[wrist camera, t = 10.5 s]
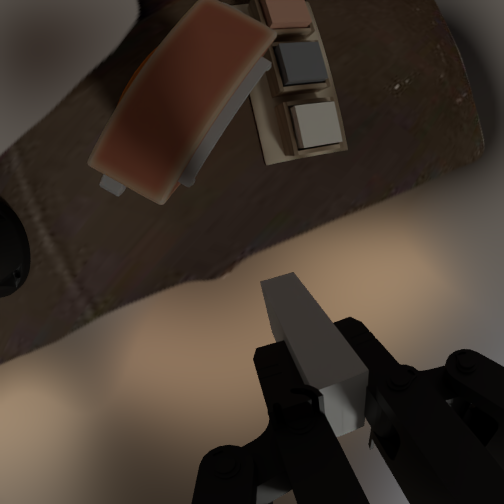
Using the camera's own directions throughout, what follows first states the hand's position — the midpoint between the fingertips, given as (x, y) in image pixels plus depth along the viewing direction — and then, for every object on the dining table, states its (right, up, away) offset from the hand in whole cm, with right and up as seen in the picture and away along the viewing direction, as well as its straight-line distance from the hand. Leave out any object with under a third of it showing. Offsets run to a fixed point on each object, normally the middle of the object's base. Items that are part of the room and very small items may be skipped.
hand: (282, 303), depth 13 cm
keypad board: (+4, +26, +20) cm, 33 cm away
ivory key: (+6, +18, +21) cm, 28 cm away
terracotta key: (+2, +33, +15) cm, 36 cm away
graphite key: (+4, +25, +18) cm, 32 cm away
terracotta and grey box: (-9, +18, +21) cm, 29 cm away
